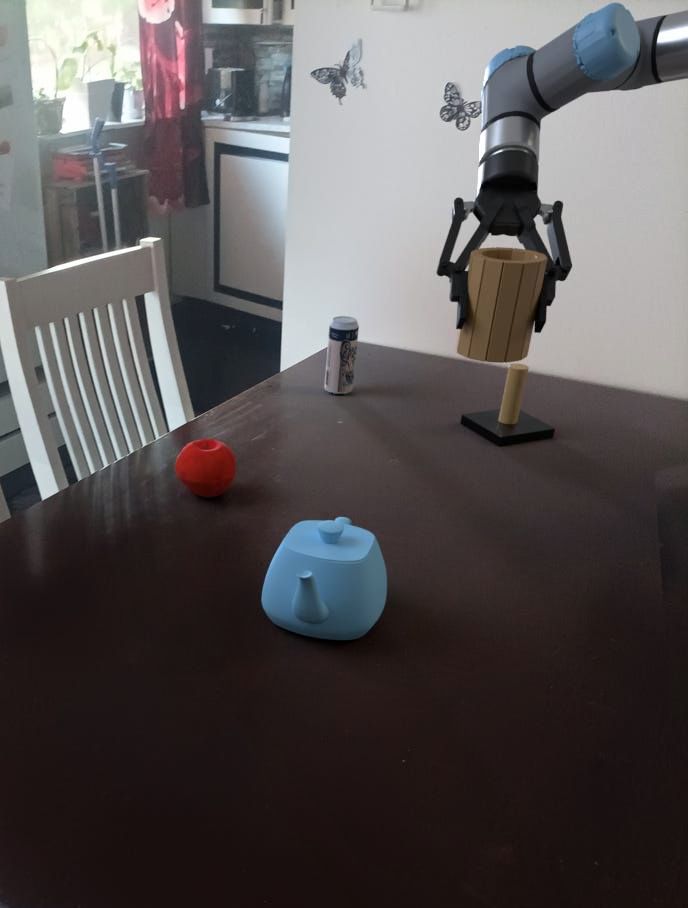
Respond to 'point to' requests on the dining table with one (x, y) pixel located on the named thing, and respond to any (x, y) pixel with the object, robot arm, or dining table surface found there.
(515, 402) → the peg stand
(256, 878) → the dining table surface
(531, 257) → the wooden cup
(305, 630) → the teapot
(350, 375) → the beer can
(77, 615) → the dining table surface
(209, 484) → the apple
